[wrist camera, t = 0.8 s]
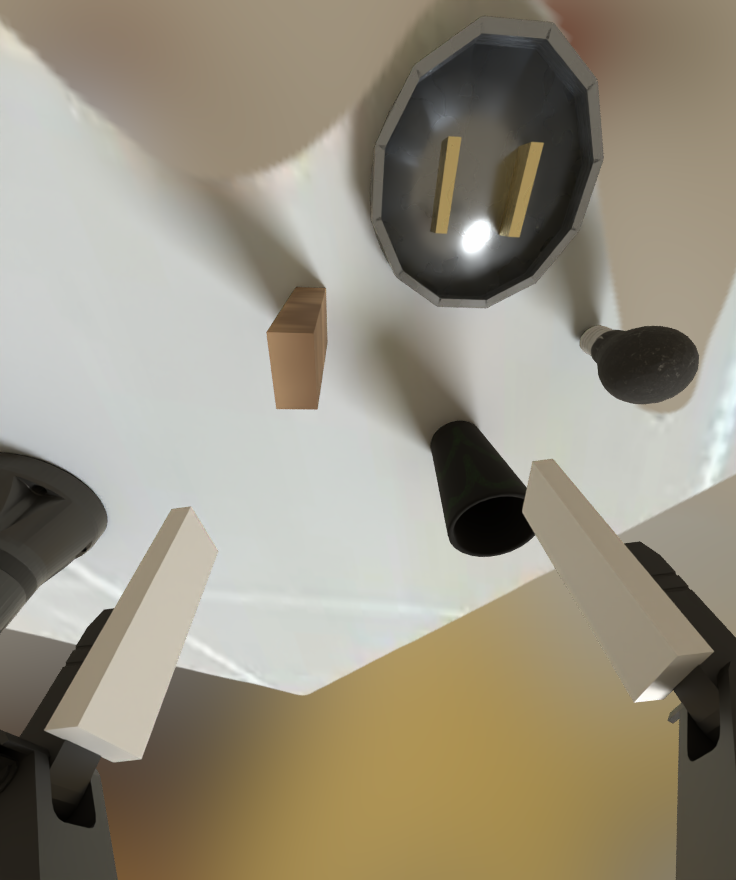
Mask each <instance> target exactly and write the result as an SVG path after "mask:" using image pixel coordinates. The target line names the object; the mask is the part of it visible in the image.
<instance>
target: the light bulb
mask: <svg viewBox="0 0 736 880" xmlns="http://www.w3.org/2000/svg"><path fill="white" fill-rule="evenodd" d="M580 347H581V349H582V350H583V351H584V352H585V353H587V354H589V355H590V356H592V358H593V360H594V361H595V362H596V363H597V366H598V375H599V378H600V381H601V383H602V384H603V386H604V388H605V389H606V390H607V391H608V392H609V393H610V394H611V395H613V396H614V397H616V398H617V399H619V400H622V401H625V402H629V403H633V404H650V403H658V402H661V401H664V400H666V399H669V398H672V397H674V396H675V395H677V394H678V393H680V392H681V391H683V390H684V389H685V388H686V387H687V386H688V385H689V383H690V382H691V381H692V380H693V378H694V376H695V374H696V372H697V370H698V364H699V354H698V352H697V348H696V346H695V345H694V343H693V342H692V341H691V340H690V339H689V338H688V336H686V335H684V334H683V333H681V332H679V331H678V330H675V329H672V328H668V327H663V326H644V327H640V328H635V329H631V330H628V331H622V330H612V329H610V328H608V327H605V326H601V325H596V326H593V327H591V328H589V329H588V330H586V331H585V333H584V334H583V335H582V337H581V339H580Z"/></svg>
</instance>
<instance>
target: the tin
mask: <svg viewBox="0 0 736 880" xmlns="http://www.w3.org/2000/svg"><path fill="white" fill-rule="evenodd" d="M596 80H597V79H596V78H595V76H594V75H593V73H592V72H591V71H590V70H589V68H588V67H587V66H586V64H585V63H584V62H583V60H582V59H581V58H580V56H579V55H578V54H577V53H576V51H575V50H574V49H573V47H572V46H571V45H570V43H569V42H568V41H567V40H566V38H565V37H564V36H563V34H562V33H561V32H560V30H559V29H558V28H557V27H556V25H555V24H554V23H553V22H543V21H532V20H521V19H511V18H500V17H489V16H481V17H480V18H478V19H477V20H476V21H474V22H473V23H471V24H470V25H469V26H467V27H466V28H464V29H463V30H462V31H460V32H459V33H458V34H456V35H455V36H453V37H452V38H451V39H449V40H448V41H446V42H445V43H444V44H442V45H441V46H440V47H438V48H437V49H435V50H434V51H433V52H431V53H430V54H428V55H427V56H426V57H424V58H423V59H422V60H420V61H419V62H417V63H416V64H415V65H414V66H413V68H412V70H411V72H410V74H409V76H408V78H407V80H406V82H405V84H404V86H403V88H402V90H401V92H400V94H399V95H398V97H397V99H396V101H395V102H394V104H393V106H392V108H391V110H390V112H389V114H388V116H387V119H386V121H385V123H384V126H383V128H382V131H381V133H380V135H379V138H378V140H377V142H376V144H375V146H374V158H373V165H372V172H371V183H370V203H371V220H372V221H371V222H372V224H373V226H374V229H375V232H376V236H377V239H378V241H379V244H380V247H381V249H382V251H383V253H384V255H385V257H386V259H387V261H388V262H389V264H390V266H391V268H392V270H393V273H394V275H395V276H396V277H397V278H398V279H399V280H401V281H402V282H404V283H405V284H406V285H408V286H409V287H411V288H412V289H413V290H415V291H416V292H418V293H419V294H420V295H422V296H423V297H425V298H426V299H427V300H429V301H430V302H432V303H433V304H434V305H436V306H438V307H463V308H488V307H490V306H492V305H494V304H496V303H498V302H500V301H502V300H503V299H505V298H507V297H509V296H511V295H513V294H515V293H517V292H519V291H521V290H523V289H525V288H527V287H529V286H531V285H533V284H535V283H536V282H537V281H538V280H539V279H540V278H541V276H542V275H543V274H544V273H545V272H546V270H547V269H548V268H549V267H550V266H551V264H552V263H553V262H554V261H555V259H556V258H557V257H558V256H559V255H560V253H561V252H562V251H563V250H564V249H565V247H566V246H567V245H568V244H569V243H570V241H571V240H572V239H573V238H574V237H575V235H576V234H577V233H578V231H579V230H580V227H581V224H582V221H583V218H584V215H585V212H586V209H587V206H588V203H589V200H590V197H591V195H592V192H593V189H594V186H595V183H596V180H597V177H598V174H599V171H600V168H601V165H602V162H603V158H604V156H603V143H602V130H601V118H600V105H599V91H598V81H596Z"/></svg>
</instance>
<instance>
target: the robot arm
mask: <svg viewBox="0 0 736 880" xmlns="http://www.w3.org/2000/svg"><path fill="white" fill-rule="evenodd" d="M522 513H523V514H524V516H525V518H526V519H527V521H528V523H529V525H530V526H531V528H532V530H533V531H534V533H535V535H536V537H537V538H538V540H539V542H540V543H541V545H542V547H543V548H544V550H545V552H546V554H547V555H548V557H549V559H550V560H551V562H552V564H553V565H554V567H555V569H556V571H557V572H558V574H559V576H560V577H561V579H562V581H563V582H564V584H565V586H566V588H567V589H568V591H569V593H570V594H571V596H572V598H573V600H574V601H575V603H576V605H577V606H578V608H579V610H580V611H581V613H582V614H583V616H584V618H585V620H586V621H587V623H588V625H589V627H590V628H591V630H592V632H593V633H594V635H595V637H596V638H597V640H598V642H599V644H600V645H601V647H602V649H603V651H604V652H605V654H606V656H607V657H608V659H609V661H610V662H611V664H612V666H613V668H614V669H615V671H616V673H617V674H618V676H619V678H620V679H621V681H622V683H623V685H624V686H625V688H626V690H627V691H628V693H629V695H630V696H631V698H632V700H633V702H643V701H651V700H660V699H664V698H665V697H666V696H667V695H669V694H670V693H671V692H672V691H673V690H674V692H675V693H676V695H677V696H678V698H679V699H680V701H681V702H682V703H681V704H680V705H679V706H677V707H676V708H675V709H674V710H673V711H672V712H670V715H669V718H668V721H669V722H671V723H674V722H676V721H677V720H678V719H679V761H678V763H679V764H678V805H677V806H678V807H677V851H676V855H677V856H676V880H736V638H735V637H734V635H733V634H732V633H731V632H730V631H729V630H728V629H727V628H726V627H725V625H723V623H722V622H721V621H720V620H719V619H718V618H717V617H716V616H715V615H714V613H713V612H712V611H711V610H710V609H709V608H708V607H707V606H706V605H705V604H704V603H703V601H702V600H701V599H700V598H699V597H698V596H697V595H696V594H695V593H694V592H693V591H692V590H690V589H689V588H688V585H687V584H686V583H685V582H684V581H683V580H682V579H681V577H680V576H679V575H678V576H677V575H676V573H675V571H674V570H673V569H672V567H671V566H670V565H669V564H668V563H667V562H666V561H665V560H664V559H663V558H662V557H661V556H660V555H659V554H658V553H656V552H655V551H653V550H652V549H650V548H649V547H647V546H646V545H645V544H643V543H642V542H632V543H623V542H622V541H621V540H620V538H619V537H618V536H617V535H616V534H615V532H614V531H613V530H612V529H611V528H610V526H609V525H608V524H607V523H606V522H605V520H604V519H603V518H602V517H601V516H600V515H599V513H598V512H597V511H596V510H595V509H594V507H593V506H592V505H591V504H590V503H589V501H588V500H587V499H586V498H585V497H584V495H583V494H582V493H581V492H580V491H579V489H578V488H577V487H576V486H575V485H574V483H573V482H572V481H571V480H570V479H569V477H568V476H567V475H566V474H565V473H564V471H563V470H562V469H561V468H560V467H559V465H558V464H557V463H556V462H555V461H554V460H553V459H547V460H540V461H532V466H531V471H530V476H529V481H528V485H527V490H526V495H525V500H524V505H523V509H522ZM106 526H107V514H106V510H105V508H104V506H103V504H102V503H101V501H100V500H99V498H98V497H97V496H96V495H95V494H94V493H93V492H92V490H90V489H89V488H88V487H87V486H86V485H85V484H83V483H82V482H81V481H79V480H78V479H77V478H75V477H74V476H72V475H70V474H69V473H67V472H65V471H63V470H61V469H59V468H57V467H55V466H53V465H50V464H48V463H45V462H43V461H40V460H37V459H33V458H30V457H26V456H22V455H16V454H10V453H0V634H1V633H2V632H3V631H4V629H5V628H6V627H7V626H8V624H9V623H10V622H11V621H12V619H13V618H14V617H15V616H16V614H17V613H18V612H19V611H20V610H21V608H22V607H23V606H24V604H25V603H26V602H27V601H28V600H29V598H30V597H31V596H32V595H33V594H34V592H35V591H36V590H37V589H38V588H39V587H40V586H41V585H42V584H43V583H44V582H46V581H47V580H49V579H50V578H51V577H53V576H54V575H55V574H57V573H58V572H60V571H61V570H62V569H64V568H65V567H66V566H67V565H69V564H70V563H71V562H72V561H73V560H74V559H76V558H78V557H80V556H82V555H83V554H85V553H86V552H87V551H88V550H90V549H91V548H92V547H93V545H94V544H95V543H96V542H97V540H98V539H99V538H100V536H101V535H102V534H103V532H104V531H105V529H106ZM217 553H218V550H217V548H216V546H215V545H214V543H213V541H212V540H211V538H210V537H209V535H208V533H207V532H206V530H205V528H204V527H203V525H202V523H201V522H200V520H199V519H198V517H197V515H196V514H195V512H194V510H193V509H192V507H183V508H176V509H171V511H170V513H169V514H168V516H167V518H166V520H165V521H164V523H163V525H162V527H161V528H160V530H159V532H158V534H157V535H156V537H155V539H154V540H153V542H152V544H151V546H150V547H149V549H148V551H147V553H146V554H145V556H144V558H143V560H142V561H141V563H140V565H139V566H138V568H137V570H136V572H135V573H134V575H133V577H132V579H131V580H130V582H129V584H128V586H127V587H126V589H125V591H124V593H123V594H122V596H121V598H120V599H119V601H118V603H117V605H116V606H115V608H113V609H105V610H103V611H102V612H101V614H100V615H99V616H98V617H97V618H96V619H95V620H94V621H93V622H92V623H91V624H90V625H89V626H88V627H87V629H86V631H85V632H84V634H83V635H82V637H81V639H80V640H79V642H78V644H77V645H76V650H74V651H73V652H72V653H71V655H70V657H69V658H68V660H67V662H66V666H65V667H63V668H62V670H61V671H60V673H59V674H58V676H57V678H56V679H55V681H54V683H53V684H52V686H51V687H50V689H49V691H48V693H47V694H46V696H45V697H44V699H43V701H42V702H41V704H40V705H39V707H38V709H37V710H36V712H35V713H34V715H33V717H32V718H31V720H30V722H29V723H28V725H27V727H26V728H25V730H24V731H23V733H22V734H21V735H20V737H17V736H14V735H12V734H10V733H7V732H4V731H2V730H0V880H118V879H117V873H116V867H115V861H114V855H113V850H112V844H111V838H110V832H109V826H108V820H107V815H106V808H105V802H104V796H103V790H102V784H101V779H100V775H99V774H98V771H97V770H96V766H97V764H98V762H99V760H100V757H103V758H105V759H108V760H110V761H112V762H119V761H129V760H138V759H142V756H143V753H144V750H145V748H146V745H147V742H148V740H149V737H150V734H151V732H152V729H153V726H154V723H155V720H156V718H157V715H158V713H159V710H160V707H161V705H162V702H163V699H164V696H165V694H166V691H167V688H168V686H169V683H170V680H171V677H172V675H173V672H174V669H175V667H176V664H177V661H178V659H179V656H180V653H181V650H182V648H183V645H184V642H185V640H186V637H187V634H188V631H189V629H190V626H191V623H192V621H193V618H194V615H195V613H196V610H197V607H198V604H199V602H200V599H201V596H202V594H203V591H204V588H205V585H206V583H207V580H208V577H209V575H210V572H211V569H212V567H213V564H214V561H215V558H216V556H217Z"/></svg>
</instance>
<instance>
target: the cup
mask: <svg viewBox="0 0 736 880" xmlns="http://www.w3.org/2000/svg"><path fill="white" fill-rule="evenodd" d="M431 450H432V456H433V461H434V466H435V471H436V476H437V482H438V487H439V492H440V497H441V502H442V507H443V513H444V518H445V523H446V528H447V533H448V537H449V540H450V543H451V544H452V545H453V546H454V548H456V549H457V550H459V551H460V552H462V553H465V554H468V555H471V556H478V557H491V556H496V555H501V554H505V553H508V552H511V551H513V550H515V549H517V548H519V547H521V546H523V545H524V544H525V543H527V542H528V541H530V540H531V539H532V538H533V537H534V536H535V533H534V531H533V530H532V528H531V526H530V525H529V523H528V521H527V519H526V518H525V516H524V514H523V513H522V509H523V505H524V500H525V495H526V490H527V488H526V486H525V485H524V484H523V483H522V481H521V480H520V479H519V478H518V477H517V475H516V474H515V473H514V472H513V470H512V469H511V468H510V467H509V466H508V464H507V463H506V462H505V461H504V459H503V458H502V457H501V456H500V455H499V453H498V452H497V451H496V450H495V448H494V447H493V446H492V445H491V444H490V442H489V441H488V440H487V439H486V437H485V436H484V435H483V434H482V433H481V431H480V430H479V429H478V428H477V427H476V426H475V425H474V424H472V423H470V422H466V421H455V422H451V423H448V424H446V425H444V426H443V427H441V428H440V429H439V430H438V431H437V432H436V433H435V434H434V436H433V438H432V441H431Z"/></svg>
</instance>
